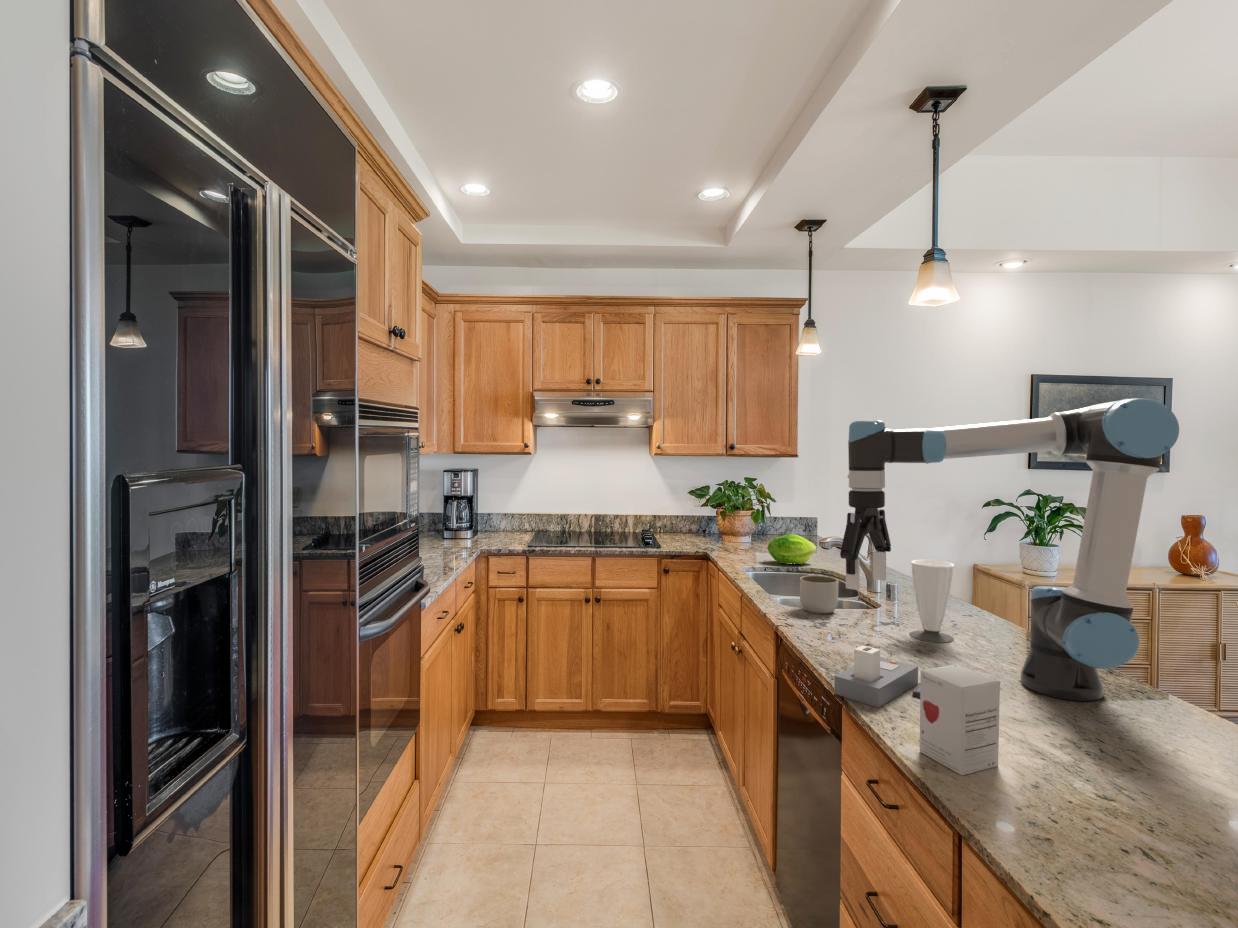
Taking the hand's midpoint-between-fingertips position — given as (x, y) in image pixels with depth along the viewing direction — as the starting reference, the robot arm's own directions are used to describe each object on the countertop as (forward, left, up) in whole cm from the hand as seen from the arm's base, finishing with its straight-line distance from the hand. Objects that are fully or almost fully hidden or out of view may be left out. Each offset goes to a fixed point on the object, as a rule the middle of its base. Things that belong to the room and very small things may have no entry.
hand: (866, 584), depth 137 cm
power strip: (-1, -3, -24) cm, 24 cm away
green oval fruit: (+97, -125, -24) cm, 160 cm away
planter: (+43, -55, -24) cm, 74 cm away
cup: (+6, -53, -24) cm, 59 cm away
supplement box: (-25, +18, -24) cm, 39 cm away
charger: (-1, +2, -23) cm, 23 cm away
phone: (-14, -9, -24) cm, 29 cm away
